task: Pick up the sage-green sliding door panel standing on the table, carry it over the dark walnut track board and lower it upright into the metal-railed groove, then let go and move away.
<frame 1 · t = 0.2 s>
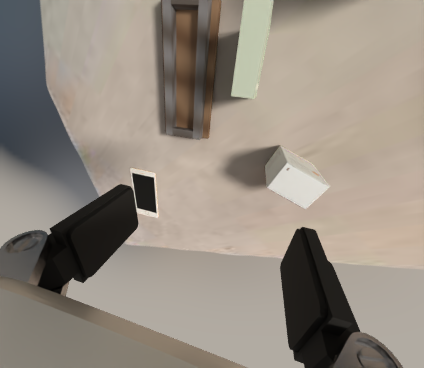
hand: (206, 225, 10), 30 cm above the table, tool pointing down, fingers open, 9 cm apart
small box: (287, 164, 37), on the table
track board: (189, 77, 34), on the table
cell phone: (146, 193, 52), on the table
door panel: (253, 64, 30), on the table
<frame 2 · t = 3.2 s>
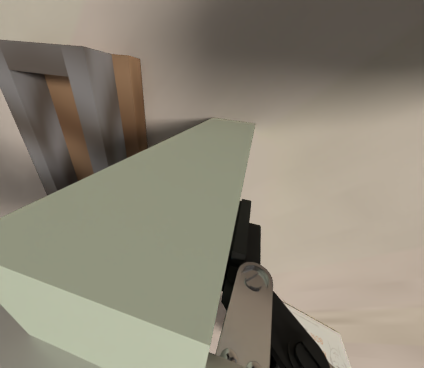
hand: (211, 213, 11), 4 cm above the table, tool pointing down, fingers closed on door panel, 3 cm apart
small box: (294, 321, 21), on the table
track board: (108, 184, 18), on the table
door panel: (224, 183, 14), on the table, touching gripper
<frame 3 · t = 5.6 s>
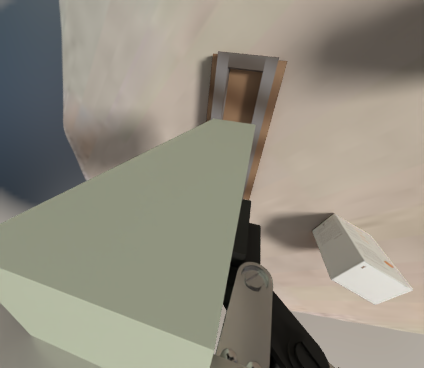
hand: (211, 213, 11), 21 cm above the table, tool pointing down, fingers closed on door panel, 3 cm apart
small box: (339, 231, 33), on the table
track board: (234, 137, 29), on the table
door panel: (224, 183, 14), point 17 cm above the table, touching gripper
when the fingers open (6 cm above the table, at t = 8.1 s): door panel stays where it is, resting on track board.
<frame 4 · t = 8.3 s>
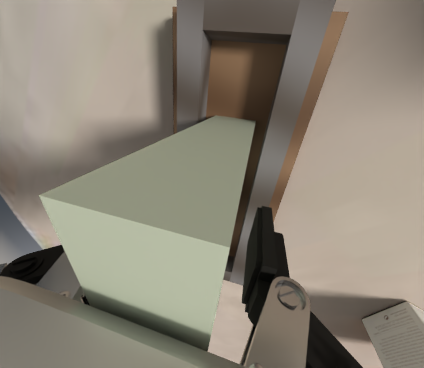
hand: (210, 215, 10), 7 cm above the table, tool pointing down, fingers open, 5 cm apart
small box: (410, 324, 19), on the table
track board: (228, 173, 16), on the table
door panel: (226, 177, 15), point 1 cm above the table, touching track board
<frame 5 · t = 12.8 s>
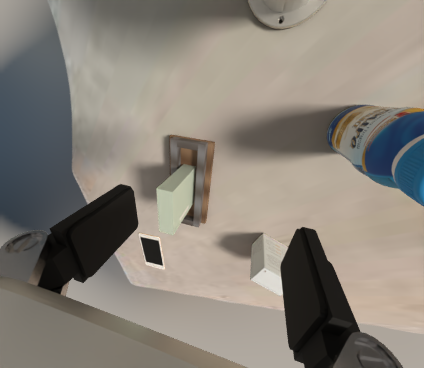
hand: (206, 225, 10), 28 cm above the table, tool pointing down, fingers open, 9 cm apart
small box: (270, 245, 46), on the table
beverage bottle: (352, 130, 30), on the table
track board: (190, 182, 43), on the table
cell phone: (153, 250, 60), on the table
door panel: (189, 184, 42), point 1 cm above the table, touching track board
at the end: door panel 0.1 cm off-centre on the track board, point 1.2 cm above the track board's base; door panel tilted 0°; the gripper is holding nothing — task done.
